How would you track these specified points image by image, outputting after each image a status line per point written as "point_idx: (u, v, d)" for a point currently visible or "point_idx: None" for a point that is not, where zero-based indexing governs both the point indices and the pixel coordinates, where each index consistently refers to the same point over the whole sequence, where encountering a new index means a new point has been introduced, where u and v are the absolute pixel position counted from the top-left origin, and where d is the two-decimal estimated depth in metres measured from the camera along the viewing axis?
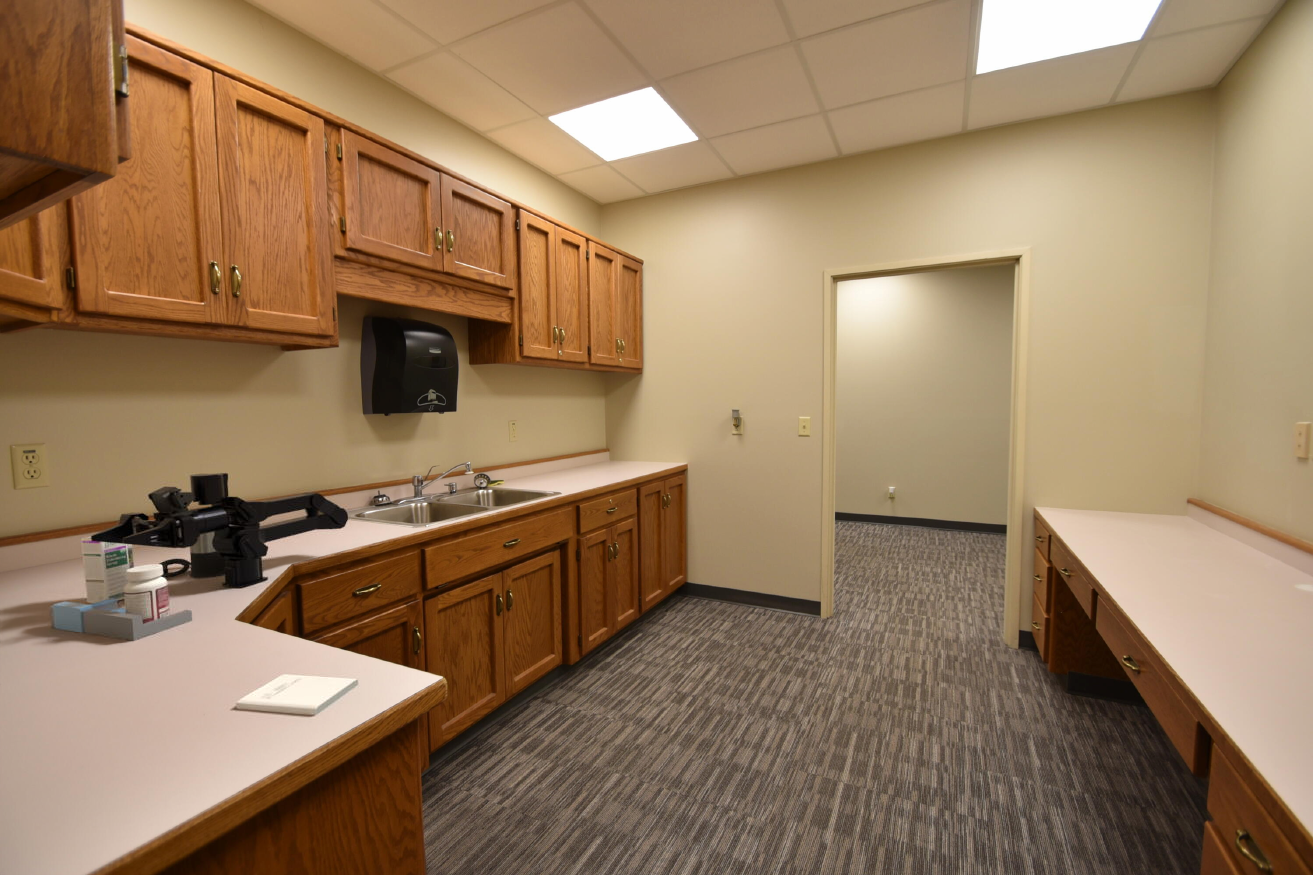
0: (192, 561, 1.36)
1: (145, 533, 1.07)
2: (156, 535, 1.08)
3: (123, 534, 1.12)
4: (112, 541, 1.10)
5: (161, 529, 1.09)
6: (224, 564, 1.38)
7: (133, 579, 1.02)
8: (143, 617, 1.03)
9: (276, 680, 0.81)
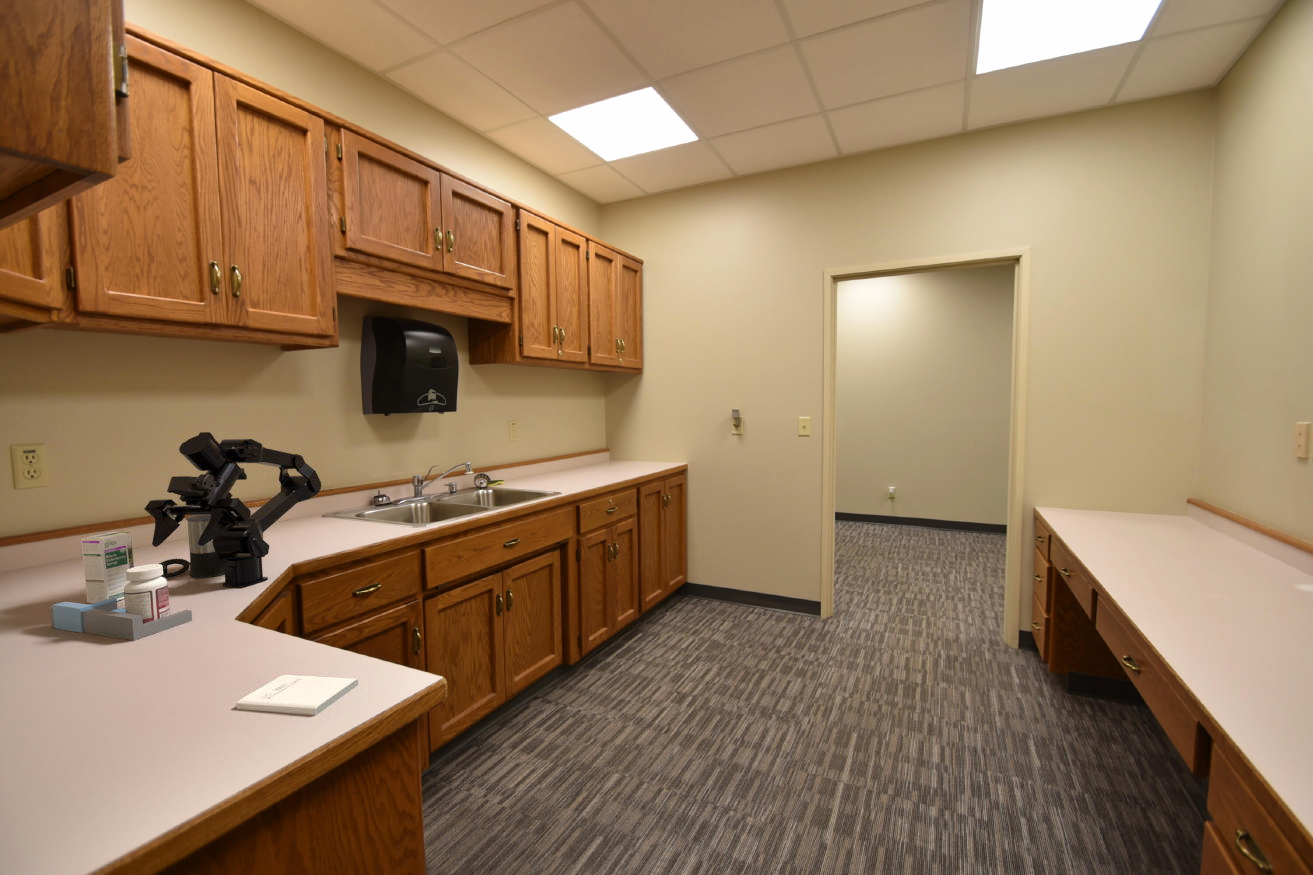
0: (191, 561, 1.35)
1: (210, 530, 1.14)
2: (217, 525, 1.16)
3: (169, 525, 1.16)
4: (167, 535, 1.15)
5: (218, 519, 1.15)
6: (223, 564, 1.38)
7: (133, 579, 1.02)
8: (143, 617, 1.03)
9: (276, 680, 0.81)
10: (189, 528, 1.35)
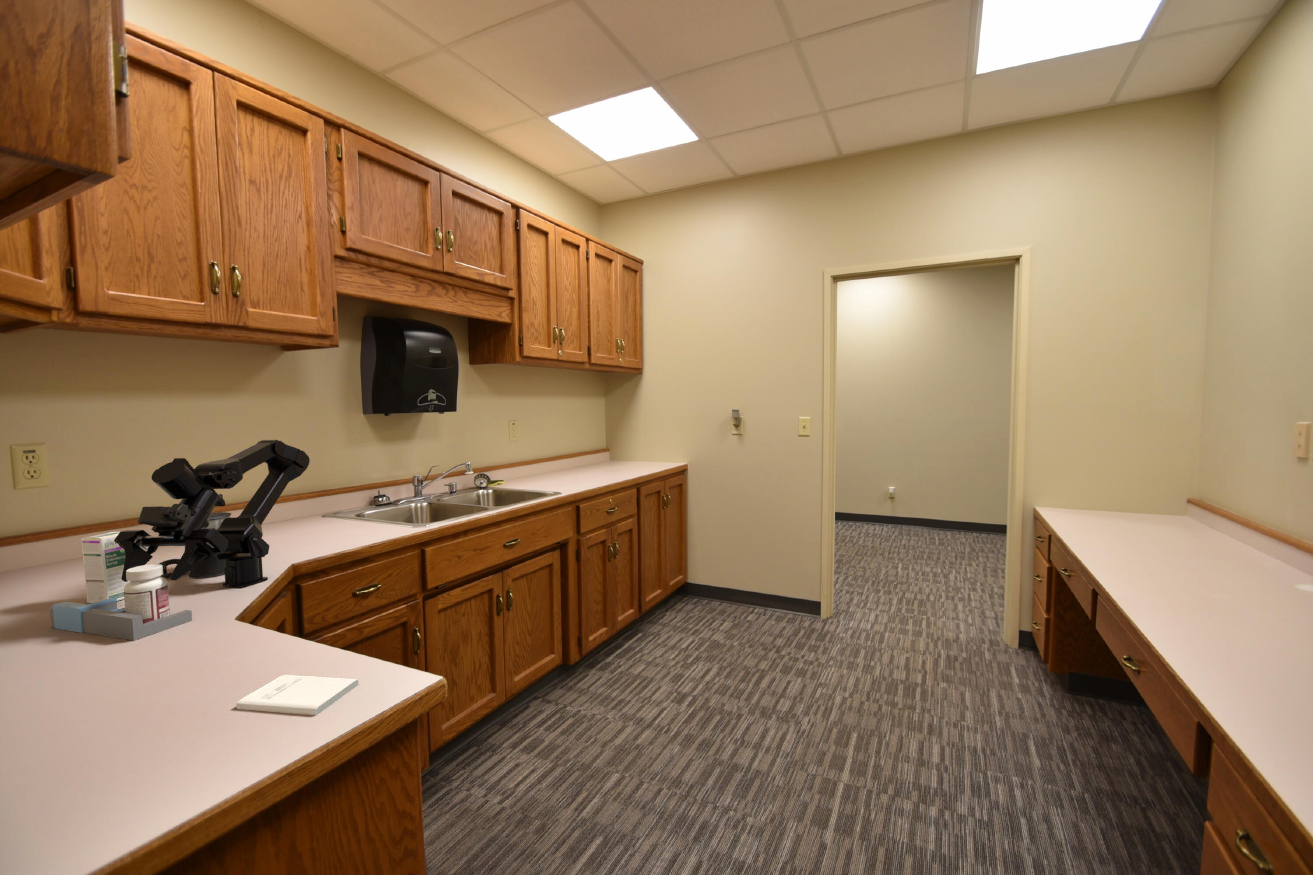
0: None
1: (184, 563, 1.07)
2: (192, 557, 1.09)
3: (140, 557, 1.09)
4: None
5: (193, 552, 1.08)
6: (223, 564, 1.38)
7: (133, 579, 1.02)
8: (143, 617, 1.03)
9: (276, 680, 0.81)
10: None
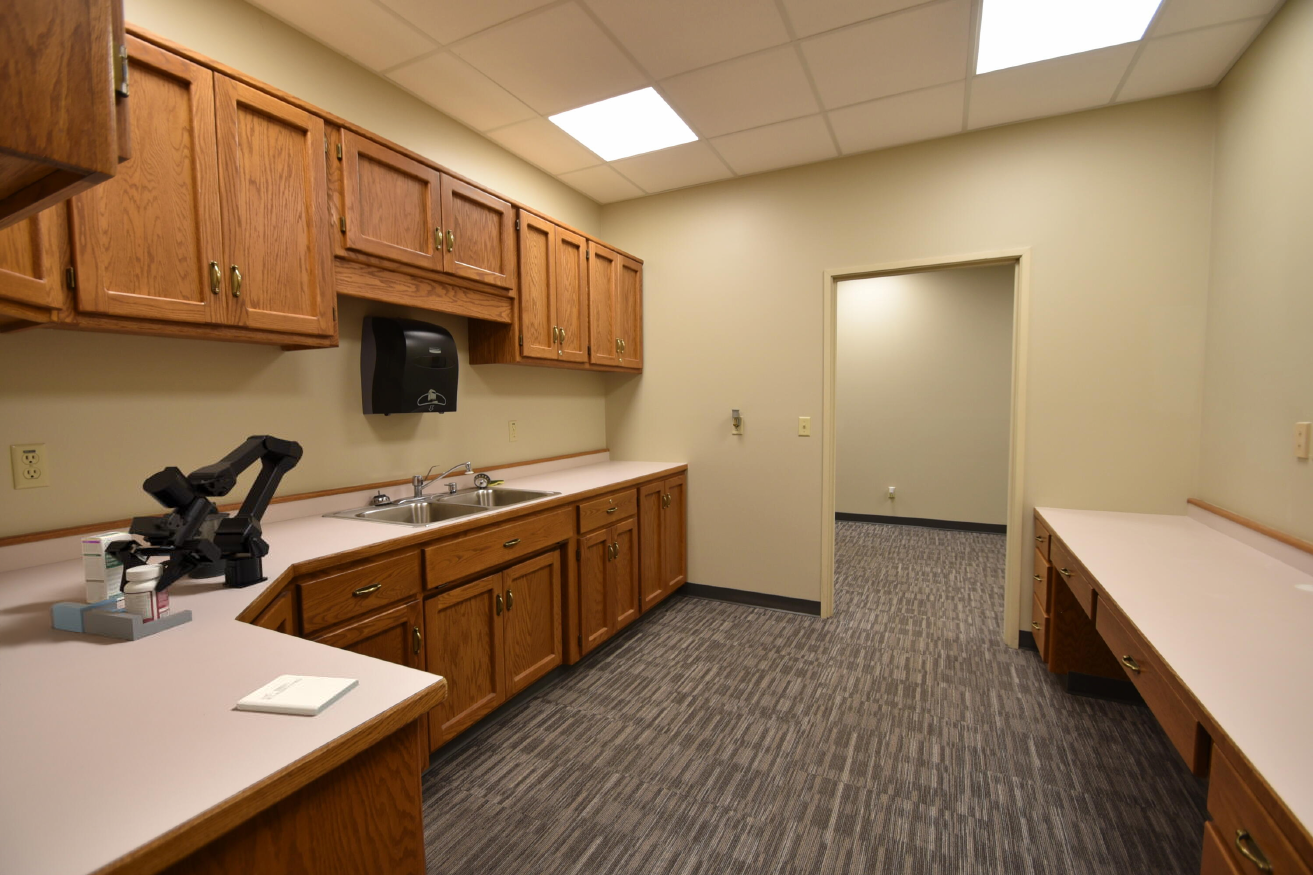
0: None
1: (168, 574, 1.05)
2: (177, 568, 1.07)
3: None
4: None
5: (178, 563, 1.07)
6: (222, 565, 1.37)
7: (133, 579, 1.02)
8: (143, 617, 1.03)
9: (276, 680, 0.81)
10: None
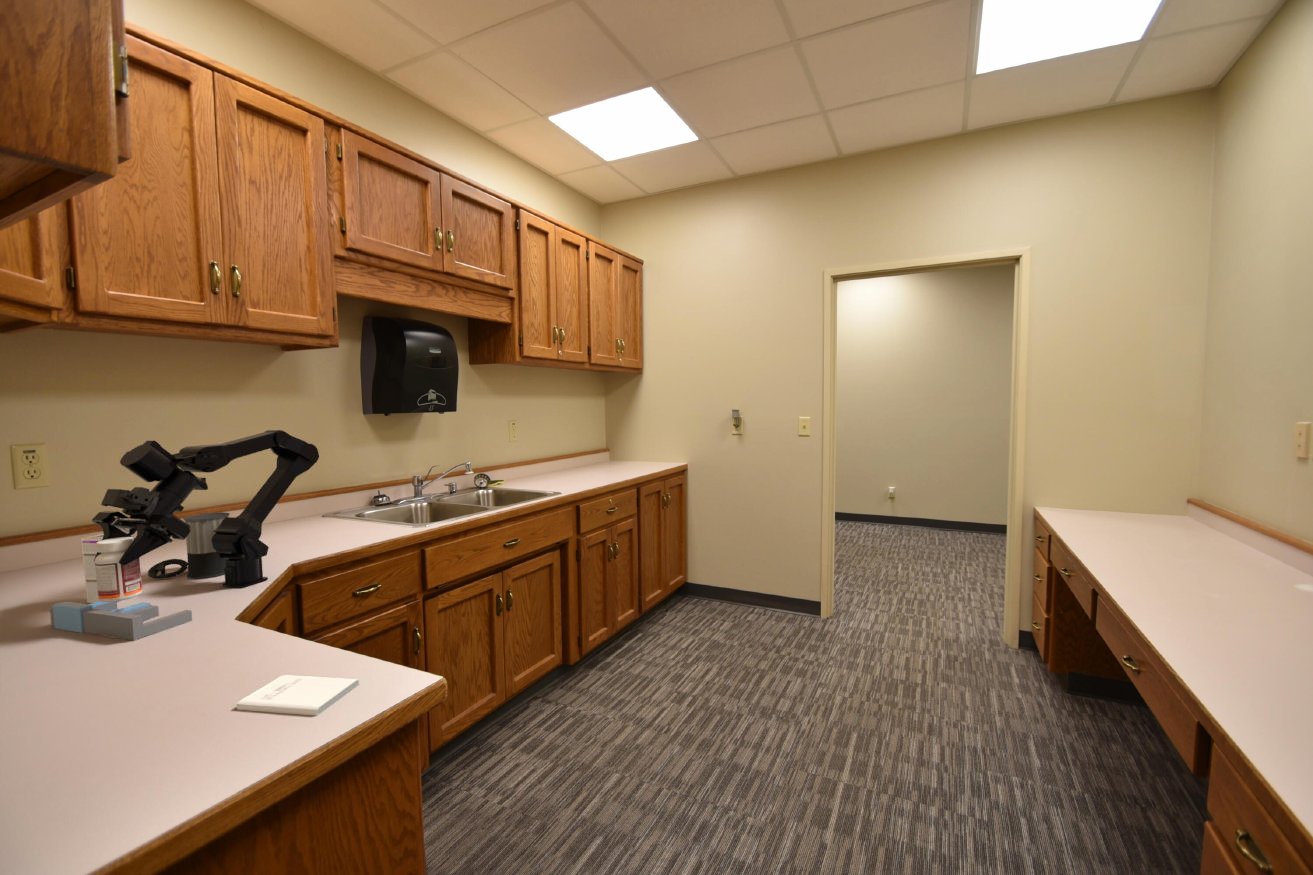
0: (189, 562, 1.35)
1: (133, 548, 1.05)
2: (144, 542, 1.07)
3: None
4: None
5: (144, 537, 1.06)
6: (221, 565, 1.37)
7: (100, 551, 1.03)
8: (109, 589, 1.04)
9: (276, 681, 0.81)
10: None
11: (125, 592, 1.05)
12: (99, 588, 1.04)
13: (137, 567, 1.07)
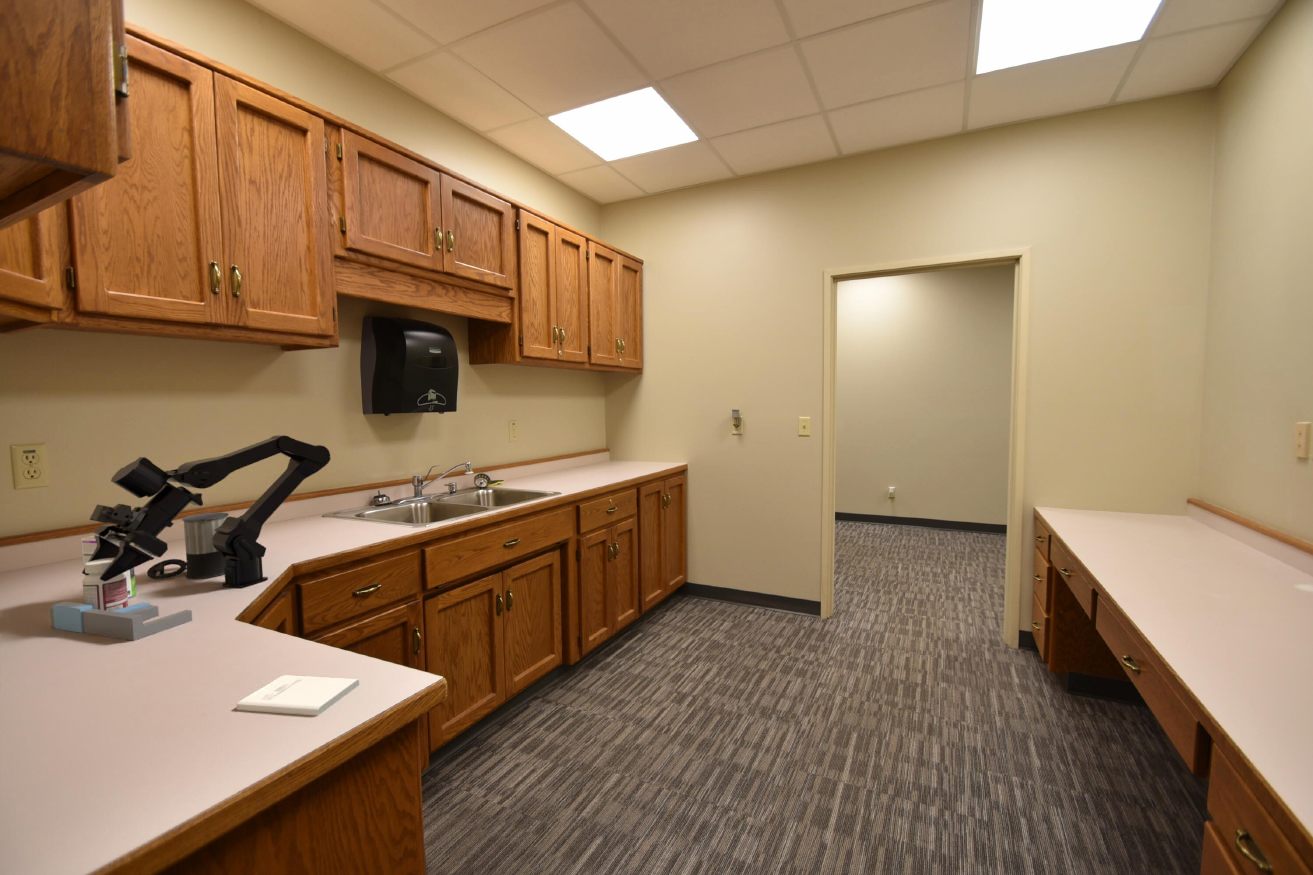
0: (188, 562, 1.35)
1: (114, 564, 1.06)
2: (126, 559, 1.08)
3: (109, 552, 1.13)
4: None
5: (124, 554, 1.07)
6: (219, 565, 1.37)
7: (86, 571, 1.07)
8: None
9: (276, 681, 0.81)
10: (185, 529, 1.34)
11: None
12: None
13: (121, 589, 1.09)
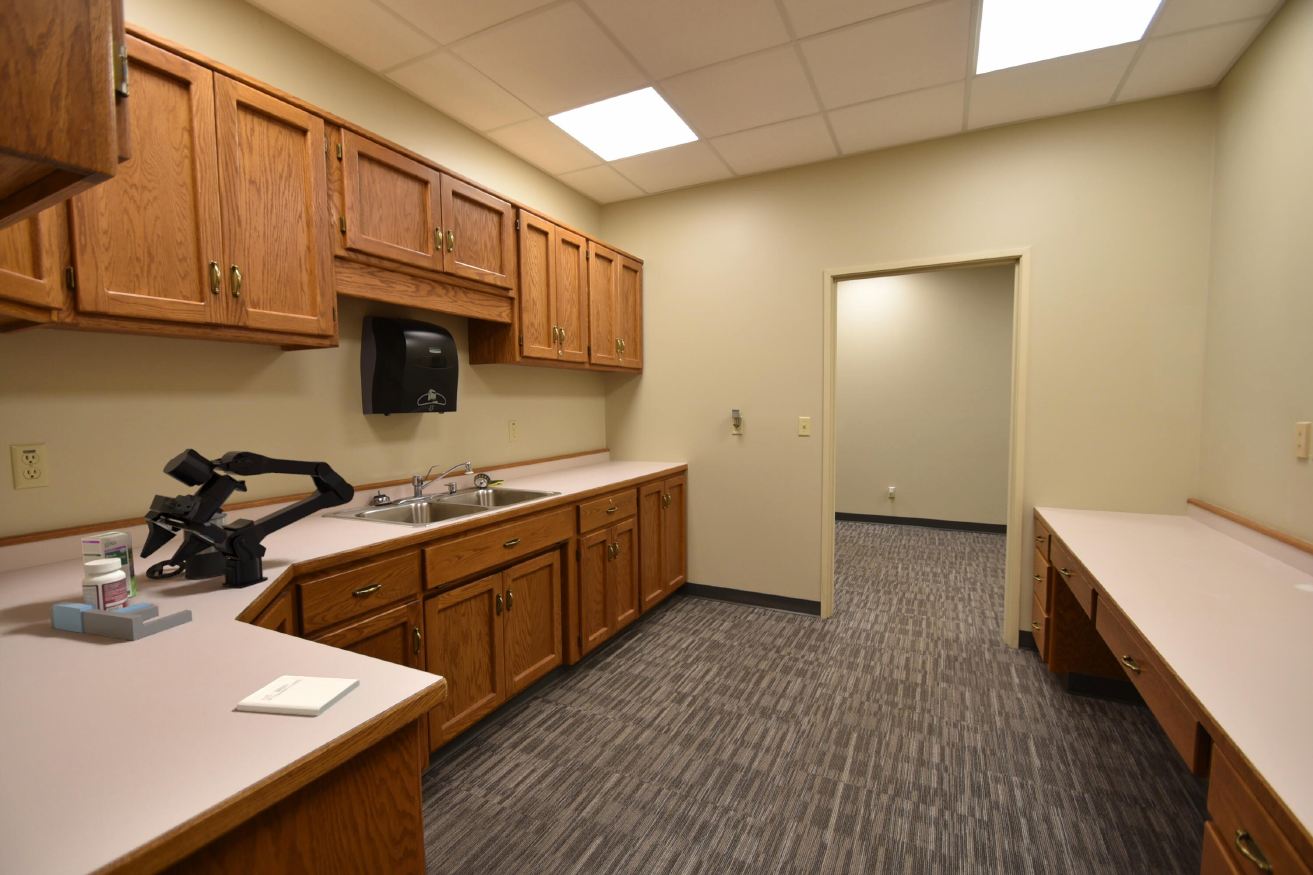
0: (186, 562, 1.35)
1: (181, 552, 1.15)
2: (190, 546, 1.16)
3: (162, 536, 1.21)
4: (159, 546, 1.20)
5: (190, 542, 1.16)
6: (218, 565, 1.37)
7: (85, 572, 1.06)
8: None
9: (276, 681, 0.81)
10: None
11: None
12: None
13: (120, 589, 1.09)
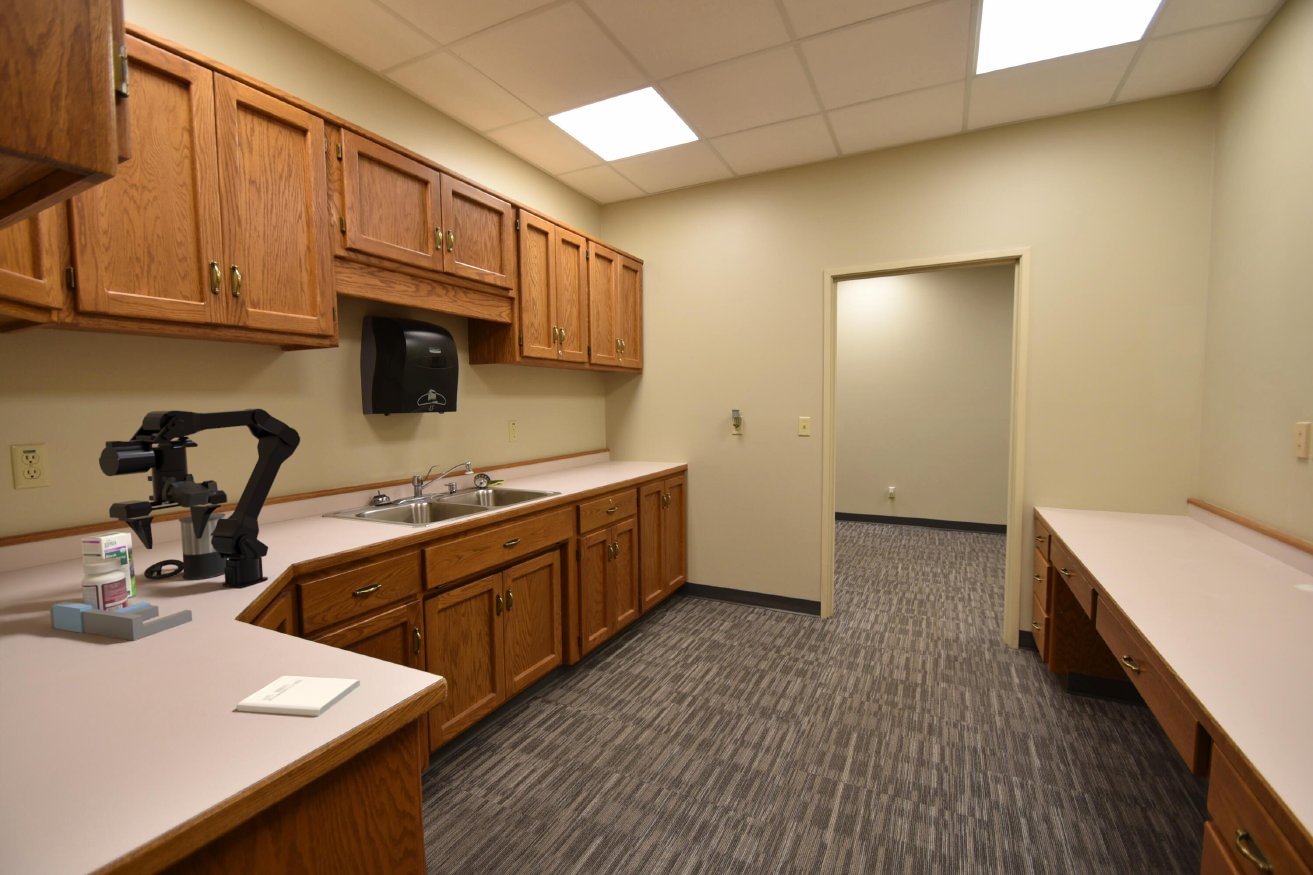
0: (184, 562, 1.34)
1: None
2: None
3: None
4: None
5: None
6: (216, 566, 1.36)
7: (84, 572, 1.06)
8: None
9: (276, 681, 0.81)
10: (182, 529, 1.34)
11: None
12: None
13: (120, 589, 1.09)
